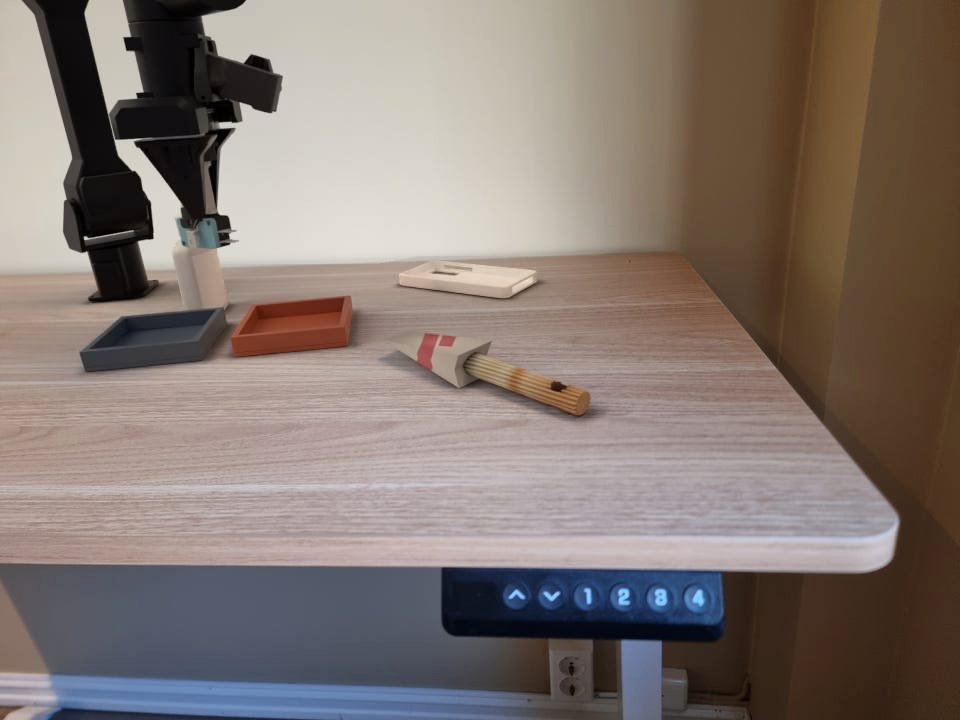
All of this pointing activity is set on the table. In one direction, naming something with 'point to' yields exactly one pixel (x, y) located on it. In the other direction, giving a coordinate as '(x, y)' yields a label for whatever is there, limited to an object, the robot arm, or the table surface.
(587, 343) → the table surface
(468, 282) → the phone case
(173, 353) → the slate tray
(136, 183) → the robot arm
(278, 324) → the terracotta tray
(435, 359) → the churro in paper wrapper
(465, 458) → the table surface
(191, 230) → the push button
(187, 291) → the eye dropper bottle
